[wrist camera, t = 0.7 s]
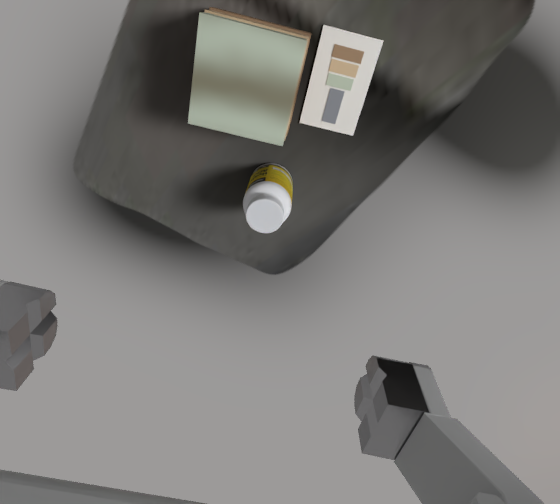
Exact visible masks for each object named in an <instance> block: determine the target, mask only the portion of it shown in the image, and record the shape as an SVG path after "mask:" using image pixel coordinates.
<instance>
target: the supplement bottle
mask: <svg viewBox="0 0 560 504" xmlns="http://www.w3.org/2000/svg"><path fill="white" fill-rule="evenodd" d="M292 192H293V181H292V177H291V175H290V173H289V172H288V171H287V170H286V169H285V168H284V167H282V166H280V165H278V164H274V163H267V164H263V165H261V166H259V167H258V168H257V169H256V170H255V171H254V172H253V174H252V176H251V178H250V181H249V184H248V187H247V190H246V192H245V195H244V199H243V209H244V212H245V214H246V220H247V222H248V224H249V226H250V227H251V228H252V229H254V230H255V231H257V232H260V233H271V232H274V231H275V230H277V229H278V228H279V227H280V226H281V224H282V223H283V222H284V221H285V220H286V219H287V217H288V216H289V214H290V211H291V205H292Z"/></svg>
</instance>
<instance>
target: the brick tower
mask: <svg viewBox="0 0 560 504" xmlns="http://www.w3.org/2000/svg"><path fill="white" fill-rule="evenodd" d="M310 38H311V33H309V32H305V31H301V30H298V29H294V28H290V27H286V26H283V25H279V24H275V23H271V22H268V21H264V20H260V19H256V18H252V17H249V16H245V15H241V14H237V13H234V12H230V11H226V10H222V9H218V8H214V7H209V10H205V13H204V12H199V21H198V31H197V40H196V50H195V59H194V69H193V78H192V88H191V97H190V107H189V117H188V124H192V125H196V126H201V127H205V128H209V129H213V130H217V131H221V132H226V133H230V134H234V135H238V136H242V137H246V138H250V139H255V140H259V141H263V142H267V143H271V144H275V145H280V146H283V143H284V140H285V139H286V135H288V131H289V126H290V122H291V118H292V114H293V110H294V105H295V101H296V97H297V93H298V88H299V84H300V80H301V76H302V71H303V67H304V63H305V59H306V55H307V50H308V46H309V42H310Z"/></svg>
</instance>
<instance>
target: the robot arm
mask: <svg viewBox="0 0 560 504" xmlns="http://www.w3.org/2000/svg"><path fill="white" fill-rule="evenodd" d="M55 305H56V298H55V293H53V292H52V291H50V290H45V289H41V288H36V287H32V286H27V285H23V284H19V283H14V282H8V281H3V280H0V388H1V389H8V390H14V391H17V390H18V388H19V387H20V386H21V385H22V383H23V382H24V381H25V379H26V378H27V377H28V376H29V374H30V373H31V372H32V371H33V369H34V367H33V360H36V359H37V358H40V357H42V356H44V355H45V354H46V352H47V351H48V350H49V349H50V347H51V345H52V343H53V341H54V338H55V336H56V331H57V318H56V317H55V316H54V314H53V313H52V312H51V310H52V309H53V308H54V306H55ZM366 370H367V374H366V375H364V376H363V377H361V378H360V380H359V382H358V384H357V387H356V392H355V413H356V415H357V416H358V418H359V419H360V420H361V421H362V422H361V424H360V426H359V429H358V432H359V438H360V444H361V450H362V453H363V454H368V455H373V456H377V457H382V458H387V459H392V460H395V461H394V462H395V464H396V465H397V467H398V468H399V470H400V471H401V473H402V474H403V476H404V477H405V479H406V480H407V482H408V483H409V484H410V486H411V488H412V489H413V491H414V492H415V494H416V495H417V496H418V498H419V500H420V501H421V503H422V504H544V503H543V502H542V501H541V500H540V499H539V498H538V497H537V496H536V495H535V494H534V493H533V492H532V491H531V490H530V489H529V488H528V487H527V486H526V485H525V484H524V483H523V482H521V480H519V478H517V477H516V476H515V475H514V474H513V473H512V472H511V471H510V470H509V469H508V468H507V467H506V466H505V465H504V464H503V463H502V462H501V461H500V460H499V459H498V458H497V457H496V456H495V455H494V454H493V453H492V452H490V450H489V449H487V448H486V447H485V446H484V445H483V444H482V443H481V442H480V441H479V440H478V439H477V438H476V437H475V436H474V435H473V434H472V433H471V432H470V431H469V430H468V429H467V428H466V427H465V426H464V425H463V424H462V423H461V422H460V421H458V419H455V418H451V416H450V414H449V411H448V409H447V407H446V404H445V402H444V399H443V397H442V395H441V392H440V389H439V387H438V385H437V382H436V380H435V377H434V375H433V372H432V370H431V368H430V367H429V366H427V365H422V364H416V363H411V362H409V363H408V362H403V361H398V360H393V359H388V358H383V357H377V356H372V357H371V358H370V359H369V360H368V362H367V364H366ZM0 504H205V503H199V502H193V501H187V500H180V499H175V498H168V497H162V496H156V495H150V494H145V493H138V492H133V491H126V490H120V489H114V488H108V487H102V486H96V485H90V484H84V483H78V482H72V481H66V480H60V479H54V478H48V477H42V476H36V475H30V474H24V473H18V472H12V471H5V470H0Z"/></svg>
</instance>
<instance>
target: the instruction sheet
mask: <svg viewBox="0 0 560 504" xmlns="http://www.w3.org/2000/svg"><path fill="white" fill-rule="evenodd" d="M382 44H383V41H382V40H379V39H375V38H371V37H367V36H364V35H360V34H356V33H352V32H349V31H345V30H341V29H337V28H334V27H330V26H326V25H323V29H322V33H321V37H320V41H319V45H318V49H317V53H316V57H315V61H314V65H313V70H312V74H311V78H310V82H309V86H308V90H307V94H306V98H305V102H304V106H303V110H302V114H301V118H300V122H299V123H303V124H307V125H311V126H315V127H319V128H323V129H327V130H331V131H335V132H339V133H343V134H347V135H351V136H353V134H354V131H355V128H356V125H357V121H358V118H359V115H360V112H361V109H362V106H363V103H364V100H365V97H366V94H367V90H368V87H369V84H370V81H371V78H372V75H373V72H374V69H375V66H376V63H377V59H378V56H379V53H380V50H381V47H382Z"/></svg>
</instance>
